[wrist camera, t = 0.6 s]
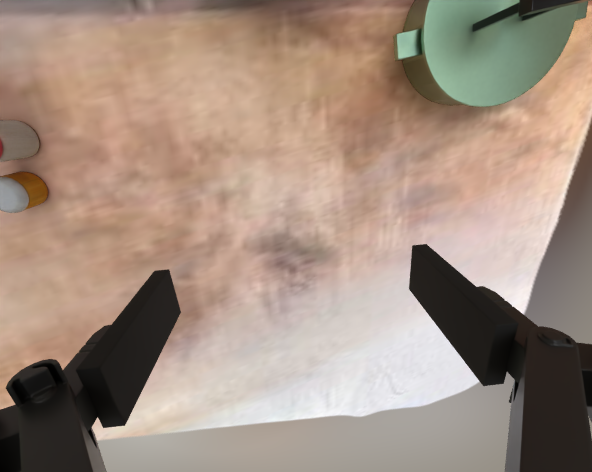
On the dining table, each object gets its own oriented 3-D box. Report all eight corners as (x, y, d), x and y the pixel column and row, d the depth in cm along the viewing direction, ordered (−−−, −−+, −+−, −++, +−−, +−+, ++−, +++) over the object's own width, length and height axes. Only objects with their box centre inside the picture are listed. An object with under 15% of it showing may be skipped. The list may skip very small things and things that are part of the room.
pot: (373, -16, 34) (394, -45, 28) (548, -56, 33) (609, -95, 27) (384, 119, 39) (404, 120, 33) (535, 86, 39) (583, 81, 33)
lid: (414, -54, 28) (472, -125, 20) (579, -92, 28) (709, -181, 19) (421, 120, 34) (468, 121, 26) (557, 90, 33) (649, 82, 25)
